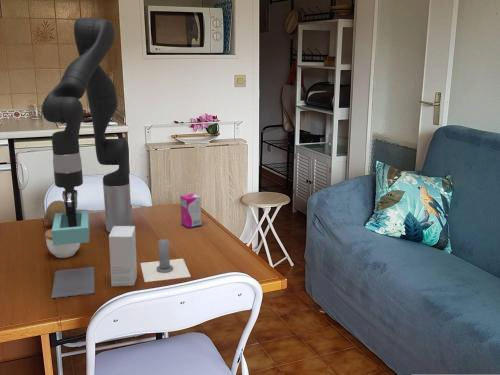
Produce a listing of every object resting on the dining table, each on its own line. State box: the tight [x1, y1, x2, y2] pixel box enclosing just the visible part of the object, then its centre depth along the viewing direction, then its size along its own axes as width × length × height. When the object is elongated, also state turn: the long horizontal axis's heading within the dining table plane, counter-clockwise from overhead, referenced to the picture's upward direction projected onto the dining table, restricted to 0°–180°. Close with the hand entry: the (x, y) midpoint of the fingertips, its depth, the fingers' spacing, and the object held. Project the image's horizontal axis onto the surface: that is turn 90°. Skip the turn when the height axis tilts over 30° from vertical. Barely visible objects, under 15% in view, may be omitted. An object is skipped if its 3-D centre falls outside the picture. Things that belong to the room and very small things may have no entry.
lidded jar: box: [44, 228, 81, 259], centre depth 169 cm, size 11×11×9 cm
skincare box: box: [108, 225, 138, 287], centre depth 147 cm, size 8×7×16 cm
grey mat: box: [50, 266, 96, 300], centre depth 149 cm, size 18×12×1 cm, turn 16°
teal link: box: [51, 210, 90, 246], centre depth 145 cm, size 16×9×4 cm, turn 16°
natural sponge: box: [44, 199, 66, 226], centre depth 195 cm, size 9×9×10 cm
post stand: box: [140, 238, 191, 283], centre depth 155 cm, size 14×13×10 cm
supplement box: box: [179, 193, 202, 229], centre depth 196 cm, size 6×6×12 cm
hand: (72, 227), depth 152 cm, fingers closed on teal link, 2 cm apart
